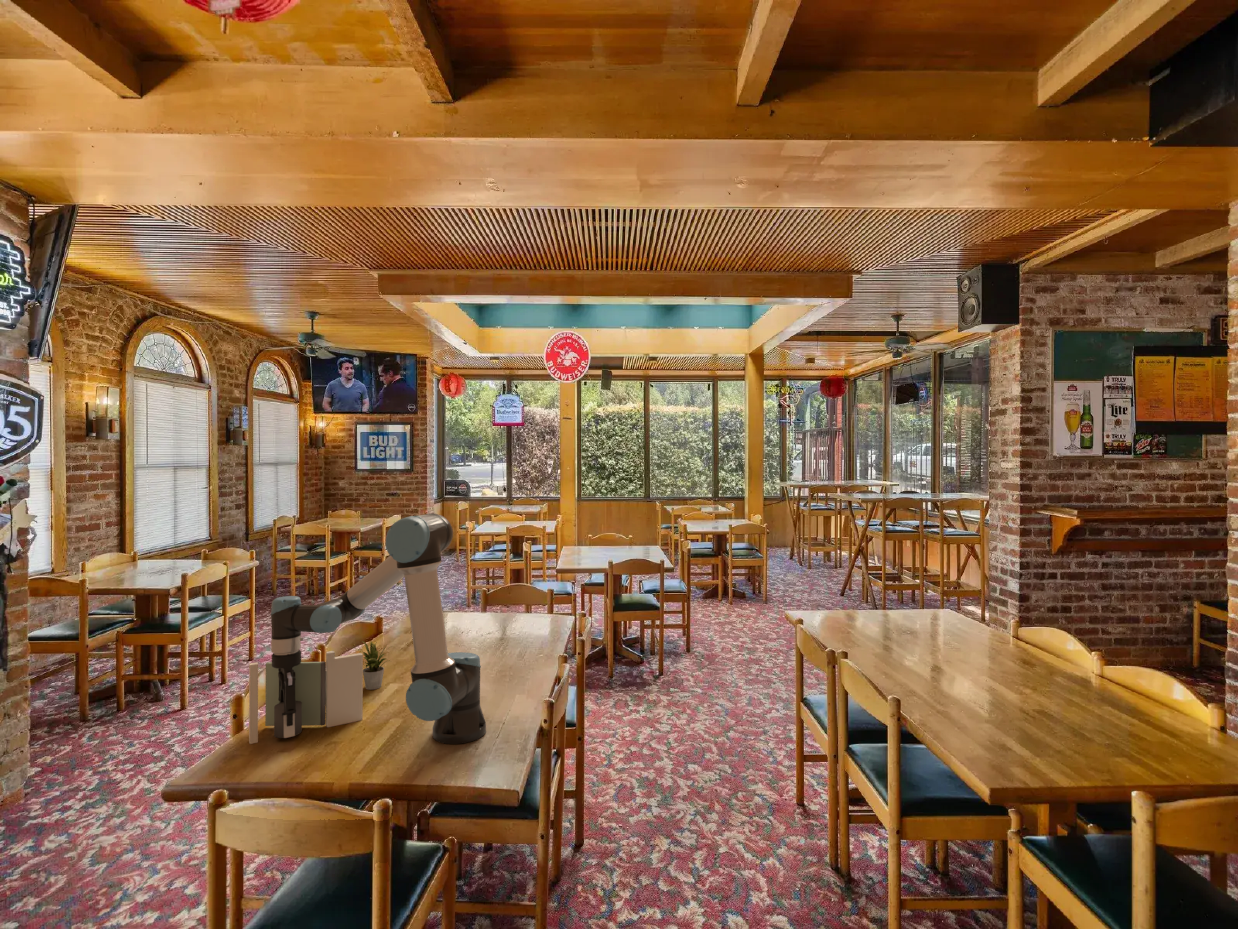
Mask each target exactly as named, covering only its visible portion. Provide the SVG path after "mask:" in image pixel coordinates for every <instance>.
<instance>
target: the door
mask: <svg viewBox="0 0 1238 929" xmlns="http://www.w3.org/2000/svg"><path fill="white" fill-rule="evenodd" d="M292 669H293V670H294V672H295V678H296V680H295V700H296V701H301V702H302V726H304V727H305V726H326V661H301V663H300V664H299V665H297V666H294V667H293V668H292ZM278 672H279V671H278V669H277V668H273V667H272V661H267V662H266V663H265V705H264V706H265V707H264V708H265V709H264V710H265V717H264V718H265V726H266V727H274V706H275V705H276V704H279V702H280V701H279V700H278V698H279V677H278ZM265 726H264V727H265Z"/></svg>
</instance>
